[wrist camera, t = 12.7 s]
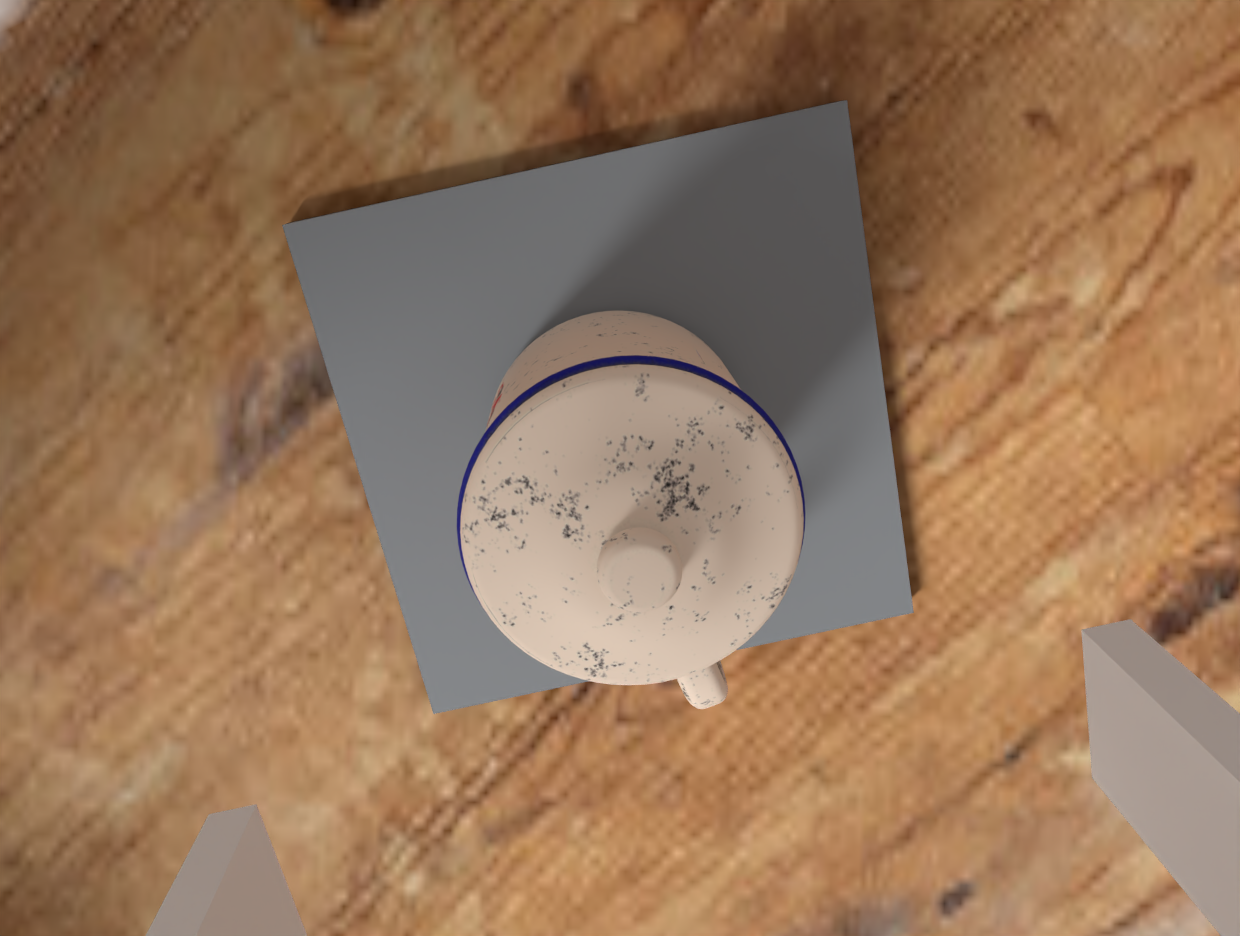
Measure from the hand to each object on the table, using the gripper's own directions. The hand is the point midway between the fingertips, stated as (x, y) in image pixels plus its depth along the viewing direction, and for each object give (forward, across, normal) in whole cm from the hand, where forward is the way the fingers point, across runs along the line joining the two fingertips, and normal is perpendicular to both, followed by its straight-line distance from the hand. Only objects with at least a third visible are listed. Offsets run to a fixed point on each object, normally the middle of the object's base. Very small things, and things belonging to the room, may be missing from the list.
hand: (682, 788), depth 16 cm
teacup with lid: (+20, 0, -1) cm, 20 cm away
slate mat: (+20, 0, 0) cm, 20 cm away
